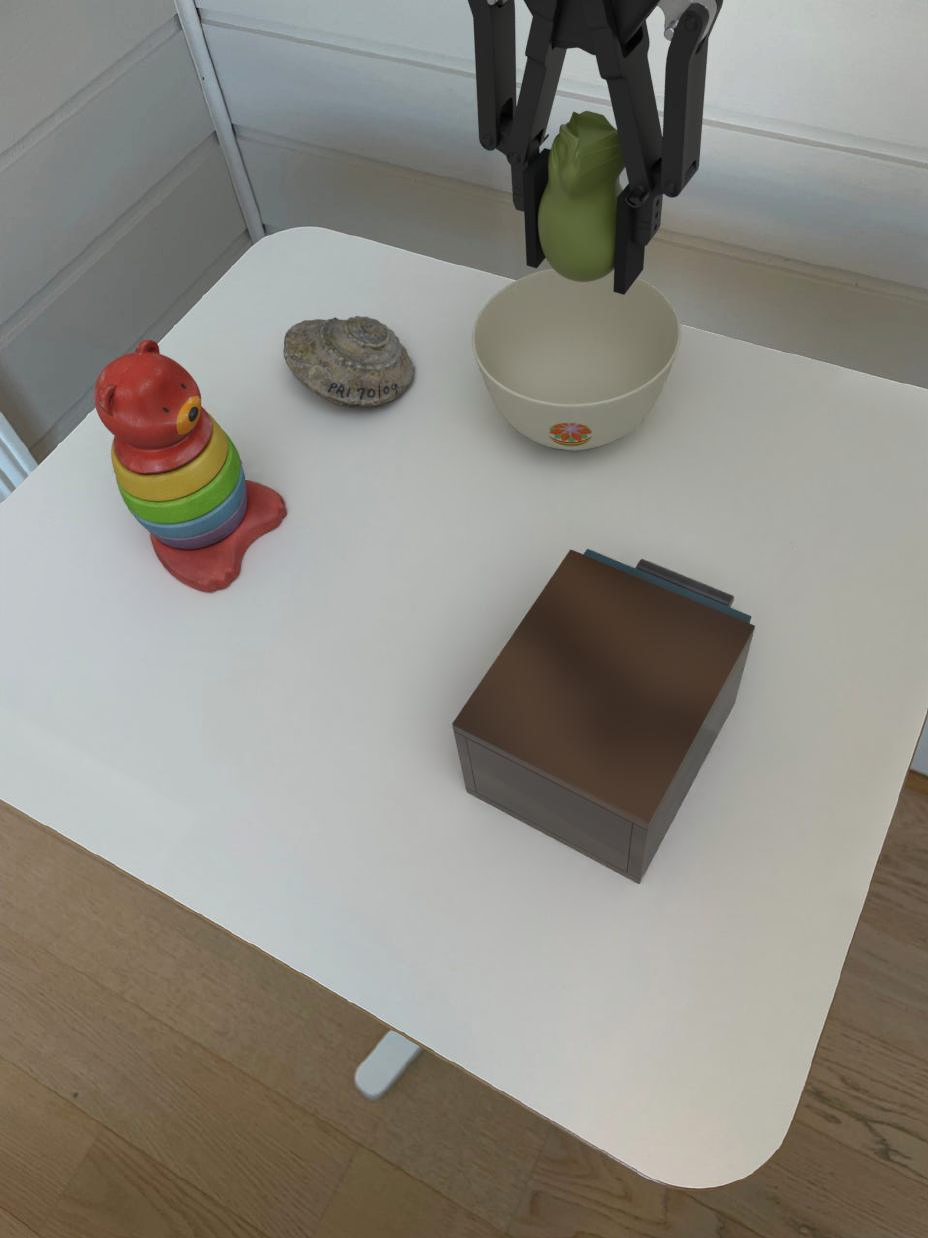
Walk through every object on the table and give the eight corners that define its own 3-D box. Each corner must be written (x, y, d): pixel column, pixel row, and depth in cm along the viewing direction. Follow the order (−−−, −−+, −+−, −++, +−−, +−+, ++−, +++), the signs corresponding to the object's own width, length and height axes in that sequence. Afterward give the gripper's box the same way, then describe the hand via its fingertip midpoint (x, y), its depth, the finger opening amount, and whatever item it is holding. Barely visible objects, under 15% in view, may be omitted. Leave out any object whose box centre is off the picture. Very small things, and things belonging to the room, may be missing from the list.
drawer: (612, 573, 75) (615, 504, 69) (759, 634, 71) (778, 568, 65) (491, 761, 68) (482, 704, 61) (648, 842, 64) (656, 791, 57)
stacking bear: (219, 601, 79) (137, 441, 64) (122, 557, 82) (23, 396, 67) (297, 505, 83) (237, 335, 69) (202, 467, 87) (126, 298, 72)
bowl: (698, 387, 87) (711, 291, 78) (627, 519, 79) (632, 430, 71) (530, 341, 92) (526, 247, 84) (449, 461, 85) (435, 371, 76)
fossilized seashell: (360, 427, 85) (333, 349, 81) (279, 419, 92) (250, 347, 88) (436, 371, 91) (414, 296, 87) (355, 367, 98) (331, 298, 94)
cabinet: (571, 629, 74) (570, 548, 66) (734, 703, 70) (755, 625, 61) (466, 792, 68) (451, 723, 60) (639, 884, 63) (648, 824, 55)
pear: (594, 234, 66) (597, 82, 58) (645, 273, 63) (656, 121, 55) (524, 268, 65) (517, 119, 57) (574, 311, 62) (574, 160, 54)
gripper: (822, -183, 43) (745, 271, 62) (456, -224, 50) (489, 199, 69) (754, -109, 40) (695, 346, 59) (372, -163, 46) (431, 263, 66)
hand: (584, 266), depth 64 cm, fingers closed on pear, 5 cm apart
